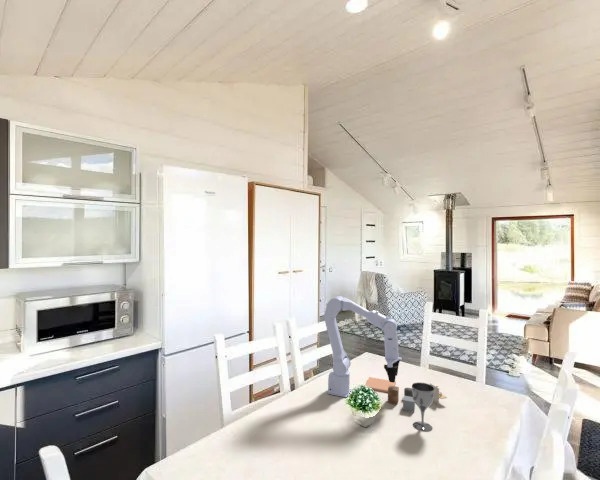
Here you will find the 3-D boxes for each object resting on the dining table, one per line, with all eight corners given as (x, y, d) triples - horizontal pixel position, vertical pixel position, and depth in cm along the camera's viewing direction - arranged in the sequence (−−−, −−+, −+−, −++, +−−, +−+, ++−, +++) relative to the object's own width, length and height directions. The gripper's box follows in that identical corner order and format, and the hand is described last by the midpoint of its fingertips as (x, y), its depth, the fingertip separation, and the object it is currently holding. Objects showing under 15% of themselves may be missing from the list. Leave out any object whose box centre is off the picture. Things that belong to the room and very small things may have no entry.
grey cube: (402, 410, 142) (403, 399, 142) (404, 405, 146) (404, 395, 146) (414, 412, 141) (414, 402, 141) (415, 407, 145) (415, 397, 145)
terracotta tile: (364, 388, 163) (364, 386, 163) (369, 379, 174) (369, 377, 174) (392, 393, 158) (392, 391, 158) (395, 383, 169) (395, 381, 169)
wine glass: (430, 434, 125) (430, 393, 125) (408, 427, 129) (408, 387, 129) (436, 425, 131) (436, 386, 131) (415, 418, 136) (415, 380, 136)
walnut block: (387, 402, 149) (387, 388, 149) (389, 398, 153) (389, 385, 153) (397, 404, 147) (397, 390, 147) (398, 400, 151) (398, 387, 151)
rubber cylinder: (403, 399, 152) (403, 390, 152) (404, 395, 156) (404, 387, 156) (413, 401, 151) (413, 392, 151) (414, 397, 154) (414, 388, 154)
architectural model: (435, 398, 154) (435, 382, 154) (446, 405, 148) (447, 388, 148) (429, 399, 153) (429, 383, 153) (440, 407, 147) (440, 389, 147)
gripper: (398, 352, 142) (400, 386, 142) (402, 343, 155) (404, 373, 155) (381, 351, 145) (383, 384, 144) (386, 342, 158) (388, 372, 158)
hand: (393, 378), depth 150 cm, fingers open, 7 cm apart
